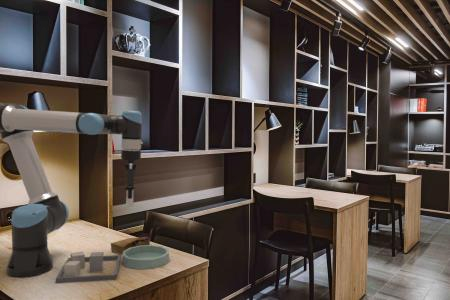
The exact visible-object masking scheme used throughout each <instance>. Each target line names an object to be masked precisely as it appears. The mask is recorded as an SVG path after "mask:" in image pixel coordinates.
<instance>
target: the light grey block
mask: <svg viewBox="0 0 450 300" xmlns="http://www.w3.org/2000/svg"><path fill="white" fill-rule="evenodd" d="M64 264H65V263H64ZM64 264H63V266H64V275H63V277H72V276H82V274H81V269H82V268H80V261H69V262H68V263H66V264H65V265H64Z"/></svg>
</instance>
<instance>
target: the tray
mask: <svg viewBox="0 0 450 300" xmlns="http://www.w3.org/2000/svg"><path fill="white" fill-rule="evenodd" d="M69 261H71V258H70V257H68V258H67V259H66V261H65V262H64V264H63V266H62V268H61V269H60V271H59V272H58V274H57V276H56V277H55V283H56V284H62V283H63V284H64V283H80V282H81V283H82V282H94V281H95V282H96V281H97V282H99V281H112V280H114V281H115V280H117V279H118V274H119V269H120V265H121V261H122V255H120V254H116V255H115V254H114V255H113V254H112V255H103V262H105V261H116V263H115V268H114V272H113V273H107V274H92V275H91V274H90V275H80V276H72V277H64V265H65V264H66V263H68V262H69ZM86 262H88V263H89V262H90V256H85V263H86Z"/></svg>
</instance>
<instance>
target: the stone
mask: <svg viewBox="0 0 450 300" xmlns="http://www.w3.org/2000/svg"><path fill="white" fill-rule="evenodd" d="M150 243H151V239H150V237H148V236H142V237H131V238H129V237H128V238H125V239H121V240H118V241H115V242H114V241H113V242H111V243H110V249H111V253H113V254H116V255H121V256H122V255H123V251H125V250H126V249H128V248H131V247H136V246H140V245H151V244H150Z"/></svg>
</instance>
